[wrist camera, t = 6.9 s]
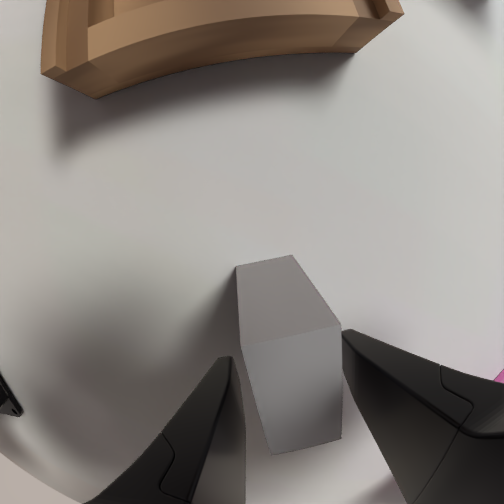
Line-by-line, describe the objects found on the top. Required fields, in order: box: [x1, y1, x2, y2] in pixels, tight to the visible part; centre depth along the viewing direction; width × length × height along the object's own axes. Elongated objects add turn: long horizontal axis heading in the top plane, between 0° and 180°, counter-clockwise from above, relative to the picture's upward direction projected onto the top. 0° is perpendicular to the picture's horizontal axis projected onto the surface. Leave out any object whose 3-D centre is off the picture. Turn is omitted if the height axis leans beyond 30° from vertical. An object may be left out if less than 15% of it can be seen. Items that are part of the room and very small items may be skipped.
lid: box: [236, 255, 342, 455], centre depth 8 cm, size 8×12×6 cm, turn 11°
